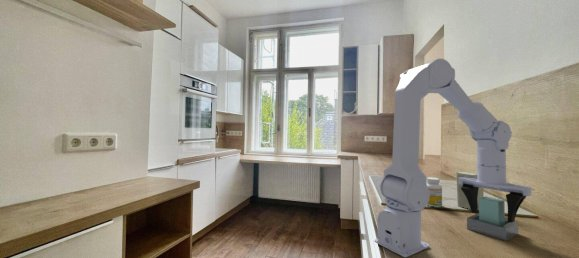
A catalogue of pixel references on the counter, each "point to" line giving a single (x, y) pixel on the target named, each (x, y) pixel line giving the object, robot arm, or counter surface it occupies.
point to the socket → (493, 228)
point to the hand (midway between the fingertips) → (491, 216)
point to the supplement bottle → (434, 192)
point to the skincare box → (460, 195)
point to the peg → (492, 210)
